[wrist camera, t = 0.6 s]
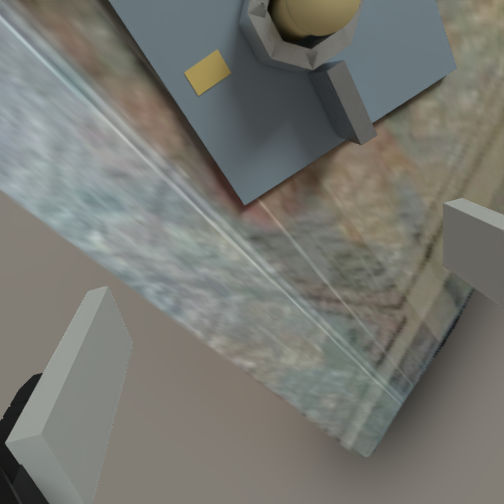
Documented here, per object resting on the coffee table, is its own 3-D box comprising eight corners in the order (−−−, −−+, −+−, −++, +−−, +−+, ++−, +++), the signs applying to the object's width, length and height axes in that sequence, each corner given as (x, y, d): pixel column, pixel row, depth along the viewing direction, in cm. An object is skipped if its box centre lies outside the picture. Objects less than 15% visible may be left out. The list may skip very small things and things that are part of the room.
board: (80, -44, 27) (22, -111, 18) (346, -248, 25) (437, -446, 16) (243, 202, 36) (260, 241, 27) (448, 68, 34) (544, 62, 25)
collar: (199, -48, 27) (201, -76, 22) (288, -114, 26) (308, -156, 21) (309, 156, 34) (327, 166, 29) (381, 109, 33) (412, 112, 28)
